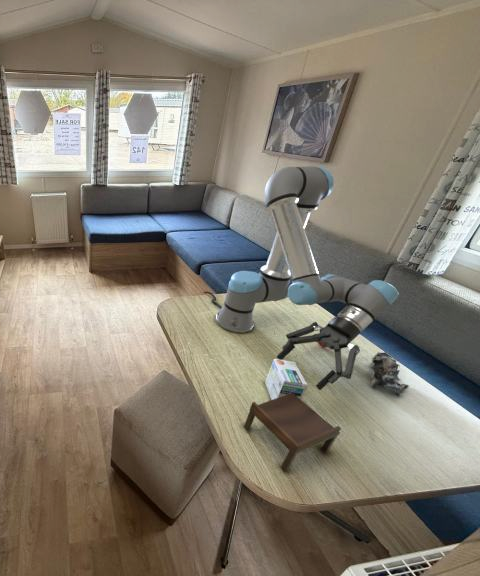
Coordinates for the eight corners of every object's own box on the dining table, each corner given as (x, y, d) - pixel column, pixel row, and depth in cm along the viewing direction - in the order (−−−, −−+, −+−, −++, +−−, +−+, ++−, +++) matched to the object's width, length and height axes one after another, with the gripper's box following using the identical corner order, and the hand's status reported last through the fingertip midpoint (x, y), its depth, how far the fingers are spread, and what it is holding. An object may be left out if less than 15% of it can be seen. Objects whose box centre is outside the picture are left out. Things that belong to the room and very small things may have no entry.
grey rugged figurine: (353, 371, 106) (381, 341, 107) (353, 385, 112) (379, 357, 114) (395, 393, 96) (425, 361, 98) (392, 407, 103) (420, 377, 105)
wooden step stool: (242, 426, 89) (252, 402, 84) (283, 411, 94) (294, 387, 89) (284, 472, 77) (298, 447, 73) (328, 452, 82) (343, 427, 78)
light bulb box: (296, 411, 94) (309, 385, 89) (273, 407, 95) (284, 381, 90) (285, 385, 103) (295, 361, 98) (263, 382, 105) (273, 357, 99)
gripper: (307, 298, 102) (261, 343, 104) (394, 342, 82) (334, 398, 84) (313, 309, 106) (268, 352, 108) (397, 353, 86) (339, 406, 88)
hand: (297, 372), depth 96 cm, fingers open, 13 cm apart
